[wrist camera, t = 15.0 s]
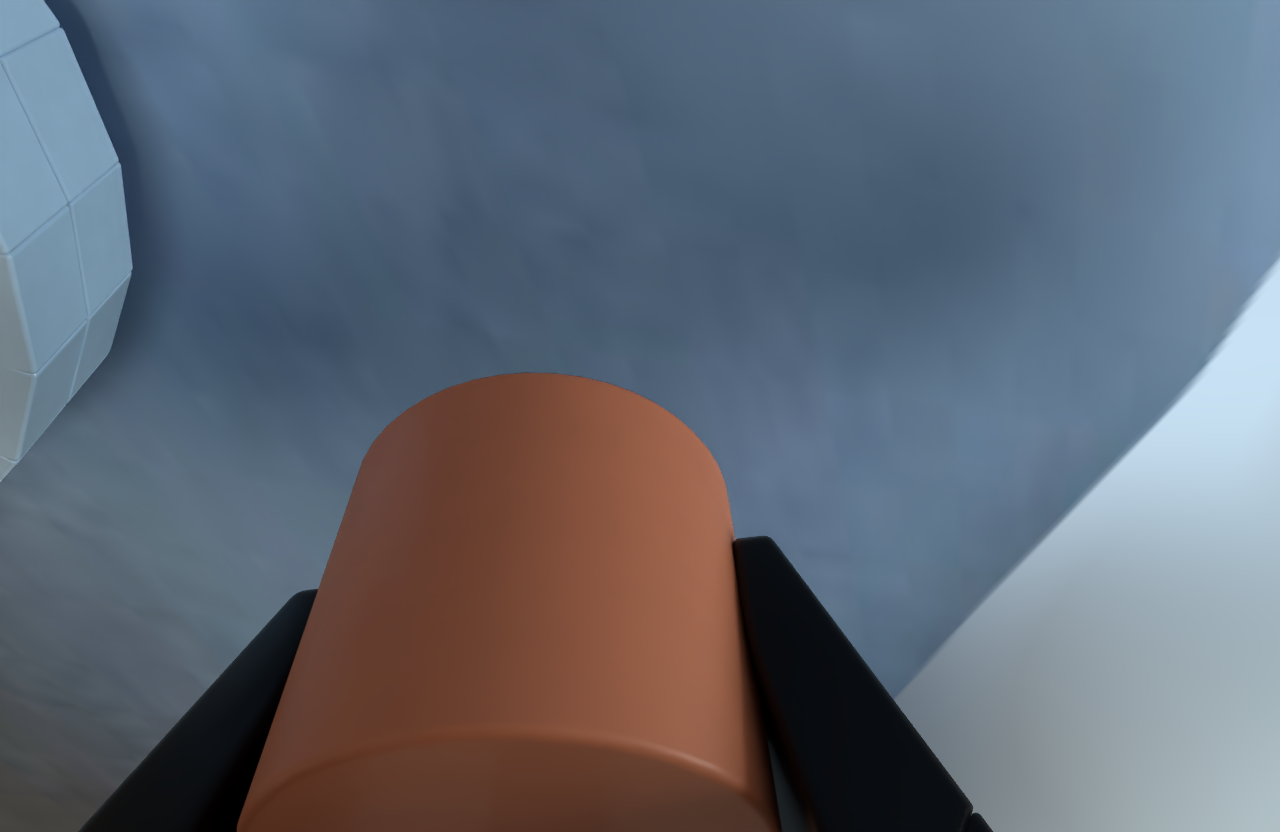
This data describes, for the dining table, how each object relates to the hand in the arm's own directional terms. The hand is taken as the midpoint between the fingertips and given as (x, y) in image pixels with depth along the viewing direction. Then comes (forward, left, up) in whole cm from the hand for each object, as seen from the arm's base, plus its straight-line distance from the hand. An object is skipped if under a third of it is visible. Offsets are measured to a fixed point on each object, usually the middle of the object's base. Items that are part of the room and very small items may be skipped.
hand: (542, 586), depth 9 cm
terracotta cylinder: (0, 0, -1) cm, 1 cm away
